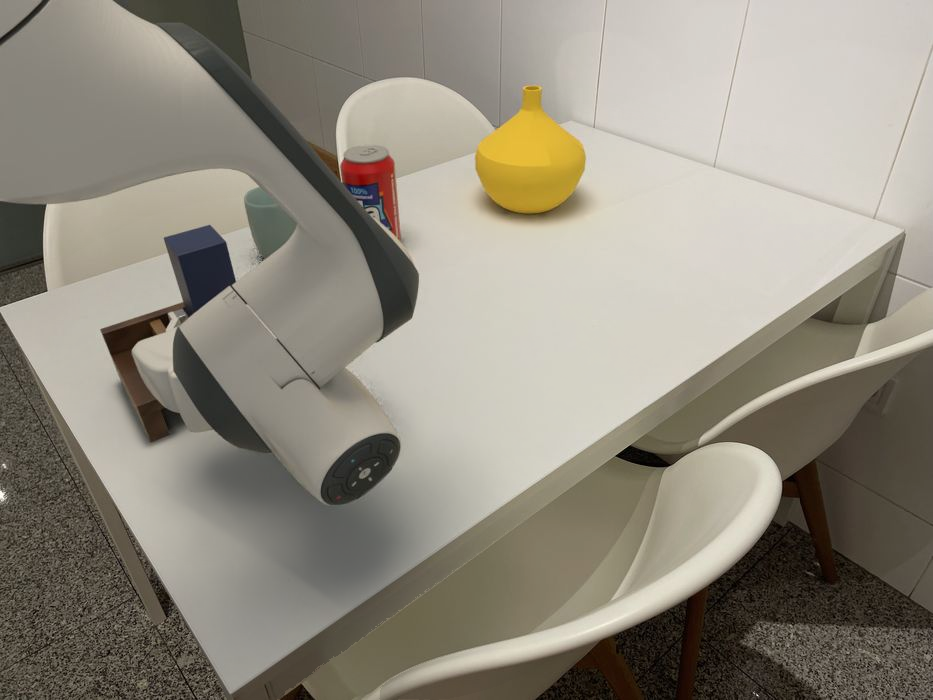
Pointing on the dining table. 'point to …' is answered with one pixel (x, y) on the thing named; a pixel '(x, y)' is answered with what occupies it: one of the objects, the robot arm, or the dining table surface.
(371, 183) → the soda can
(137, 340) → the wooden divided tray
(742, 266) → the dining table surface
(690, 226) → the dining table surface
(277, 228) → the cup
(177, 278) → the navy block
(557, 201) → the vase
